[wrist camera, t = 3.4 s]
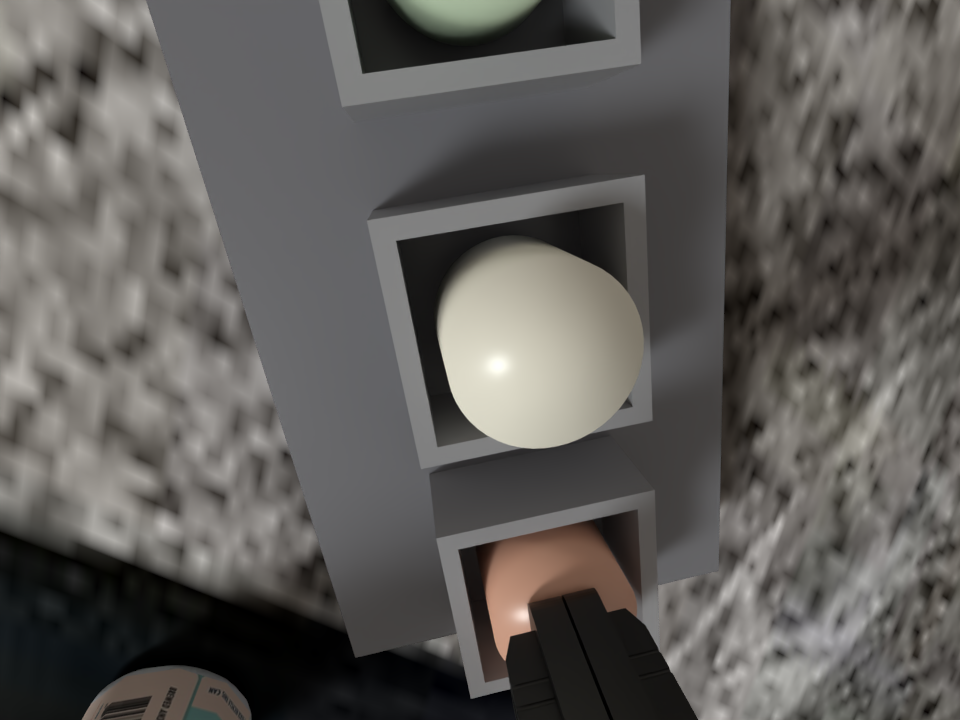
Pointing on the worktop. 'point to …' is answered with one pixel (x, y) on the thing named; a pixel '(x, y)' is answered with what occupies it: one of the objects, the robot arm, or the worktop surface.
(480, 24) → the sage button
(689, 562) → the grey boxy piece
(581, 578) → the terracotta button
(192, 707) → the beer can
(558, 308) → the cream button
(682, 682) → the worktop surface
